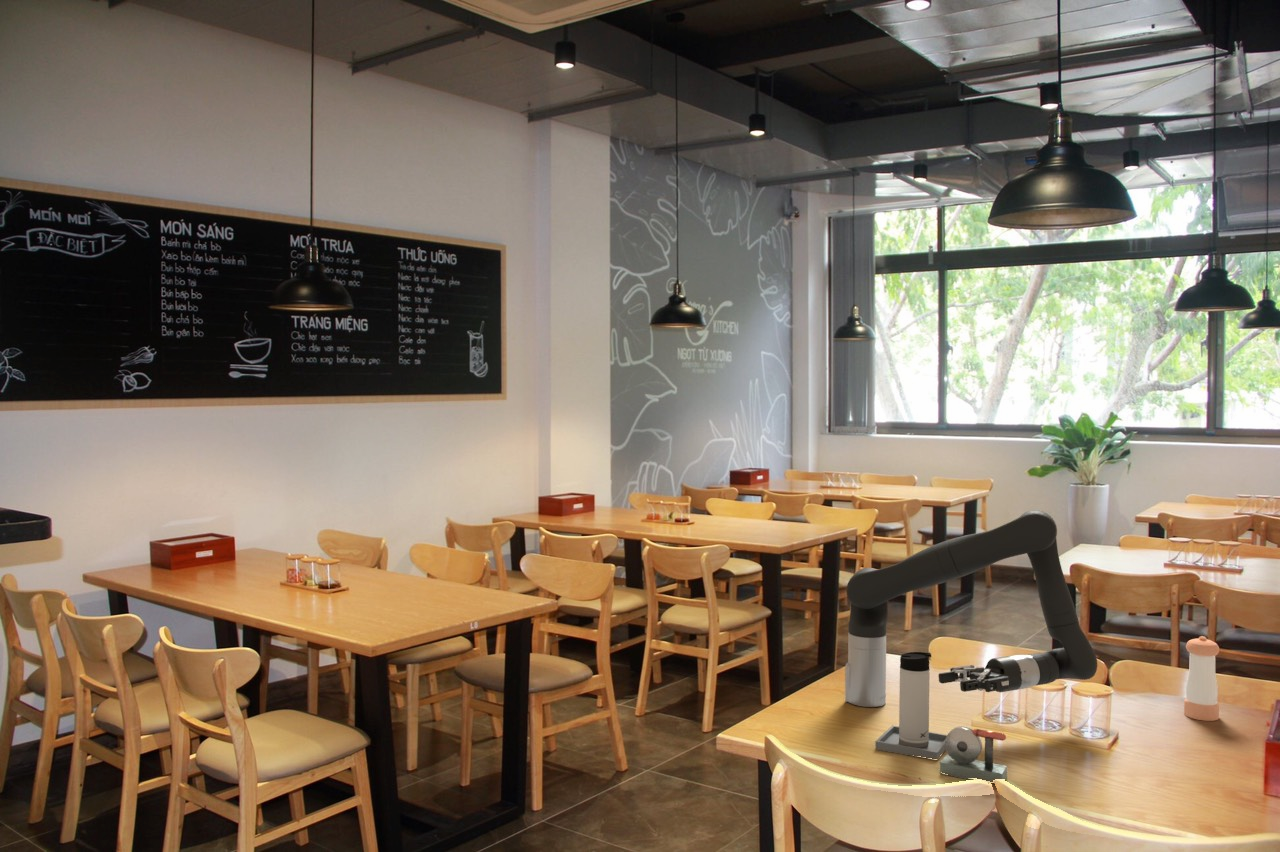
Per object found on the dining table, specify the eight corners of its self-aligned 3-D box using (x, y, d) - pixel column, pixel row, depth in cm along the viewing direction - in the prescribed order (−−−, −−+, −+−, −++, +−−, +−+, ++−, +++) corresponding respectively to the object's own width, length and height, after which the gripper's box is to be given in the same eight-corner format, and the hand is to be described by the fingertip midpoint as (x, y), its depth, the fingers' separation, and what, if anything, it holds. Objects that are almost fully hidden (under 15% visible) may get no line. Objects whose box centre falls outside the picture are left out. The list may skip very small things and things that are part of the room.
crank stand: (939, 773, 202) (940, 727, 201) (946, 766, 206) (946, 720, 206) (1002, 786, 195) (1003, 737, 195) (1008, 777, 200) (1008, 730, 199)
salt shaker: (1186, 718, 236) (1187, 638, 236) (1182, 709, 243) (1183, 631, 243) (1221, 722, 234) (1222, 641, 233) (1216, 713, 240) (1217, 634, 240)
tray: (875, 749, 216) (875, 741, 216) (892, 733, 226) (892, 725, 226) (936, 761, 209) (937, 752, 209) (951, 743, 219) (951, 735, 219)
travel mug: (931, 749, 214) (932, 657, 213) (899, 747, 215) (900, 655, 215) (929, 740, 220) (930, 650, 219) (898, 737, 221) (899, 648, 221)
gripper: (992, 650, 232) (931, 659, 228) (1031, 662, 219) (967, 671, 214) (994, 682, 232) (933, 692, 228) (1034, 696, 219) (970, 706, 214)
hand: (950, 682), depth 221 cm, fingers open, 8 cm apart
